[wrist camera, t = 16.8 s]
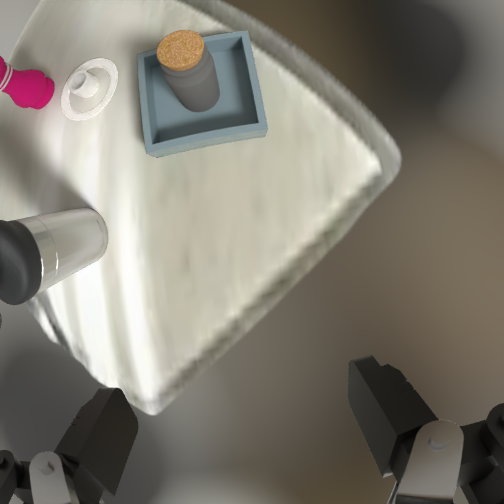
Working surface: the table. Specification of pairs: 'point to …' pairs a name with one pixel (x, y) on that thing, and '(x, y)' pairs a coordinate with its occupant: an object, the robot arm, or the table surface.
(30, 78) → the pepper mill
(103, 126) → the table surface
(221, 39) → the tote
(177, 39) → the bottle
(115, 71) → the candle holder
